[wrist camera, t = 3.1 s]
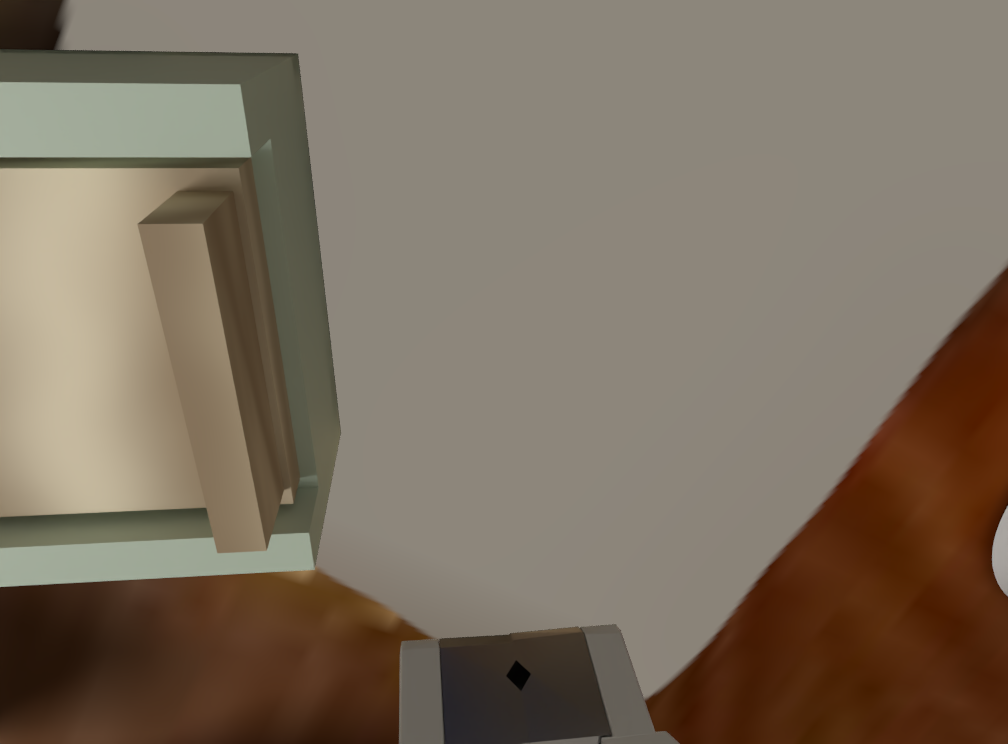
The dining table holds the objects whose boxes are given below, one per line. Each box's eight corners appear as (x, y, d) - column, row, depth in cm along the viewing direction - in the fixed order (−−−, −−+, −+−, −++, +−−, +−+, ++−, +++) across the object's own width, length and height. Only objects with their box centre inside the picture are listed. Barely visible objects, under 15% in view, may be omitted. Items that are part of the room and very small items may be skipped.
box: (297, 53, 20) (240, 84, 14) (340, 432, 26) (314, 569, 20) (-326, 44, 18) (-705, 74, 12) (-119, 449, 24) (-299, 603, 18)
